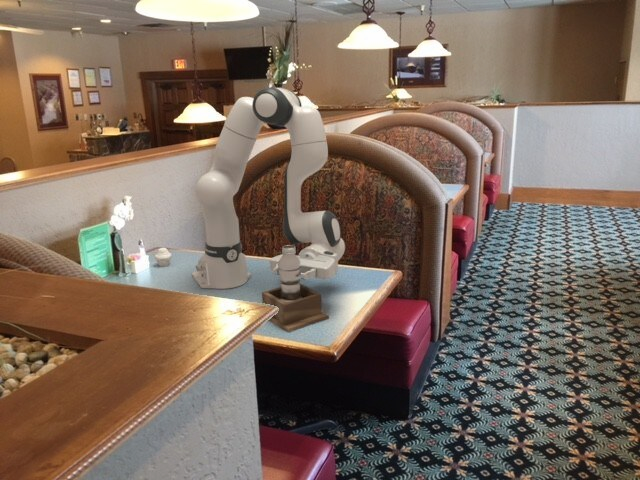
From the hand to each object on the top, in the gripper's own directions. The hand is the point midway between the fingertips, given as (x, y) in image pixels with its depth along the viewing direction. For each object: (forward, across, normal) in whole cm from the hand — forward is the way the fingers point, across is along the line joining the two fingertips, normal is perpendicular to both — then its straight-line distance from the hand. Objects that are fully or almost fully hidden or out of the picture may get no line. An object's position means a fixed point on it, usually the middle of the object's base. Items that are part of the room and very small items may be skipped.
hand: (288, 274), depth 155 cm
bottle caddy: (-1, 0, +13) cm, 13 cm away
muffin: (-20, -68, +13) cm, 72 cm away
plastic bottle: (-1, 0, +12) cm, 12 cm away
